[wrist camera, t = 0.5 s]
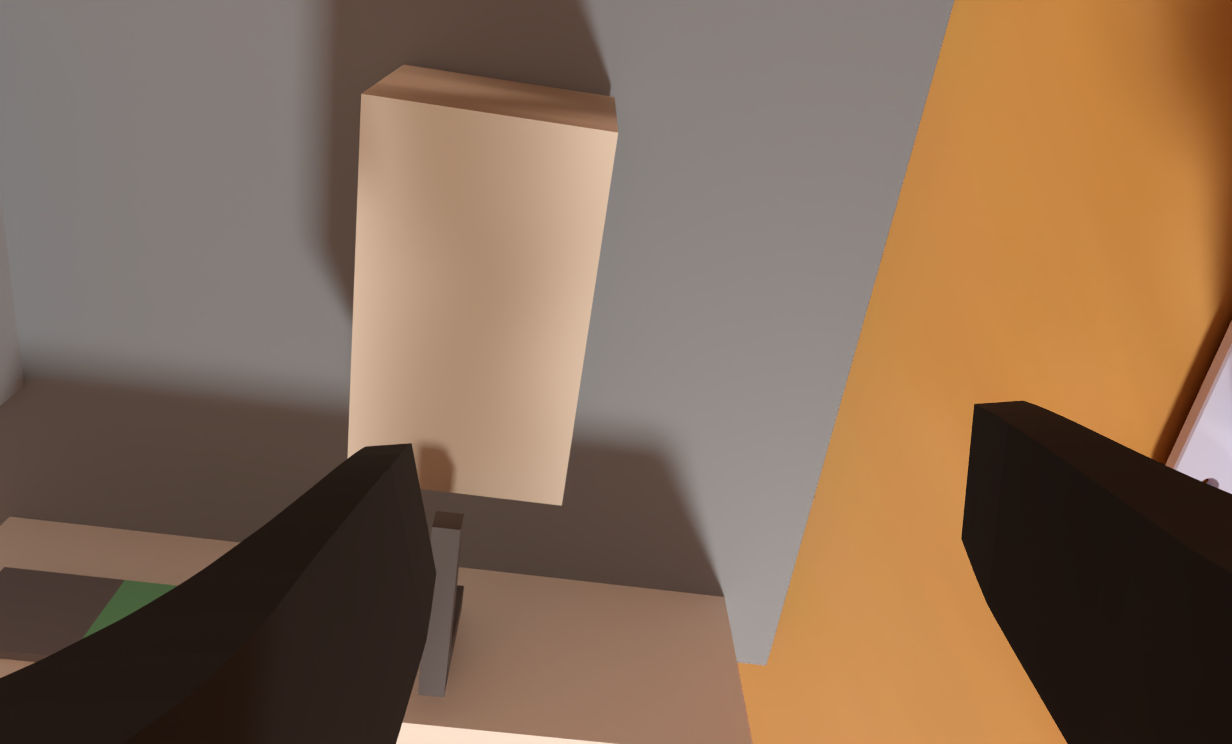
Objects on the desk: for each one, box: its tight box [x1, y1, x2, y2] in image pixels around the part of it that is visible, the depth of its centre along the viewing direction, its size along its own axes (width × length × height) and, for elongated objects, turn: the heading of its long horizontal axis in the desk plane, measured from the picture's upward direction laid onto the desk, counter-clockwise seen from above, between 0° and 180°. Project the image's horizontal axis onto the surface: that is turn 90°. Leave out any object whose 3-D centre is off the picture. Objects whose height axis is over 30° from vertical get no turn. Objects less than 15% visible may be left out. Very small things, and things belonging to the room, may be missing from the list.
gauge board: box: [0, 0, 954, 744], centre depth 17 cm, size 22×20×6 cm
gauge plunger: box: [347, 65, 618, 697], centre depth 18 cm, size 4×11×5 cm, turn 171°
